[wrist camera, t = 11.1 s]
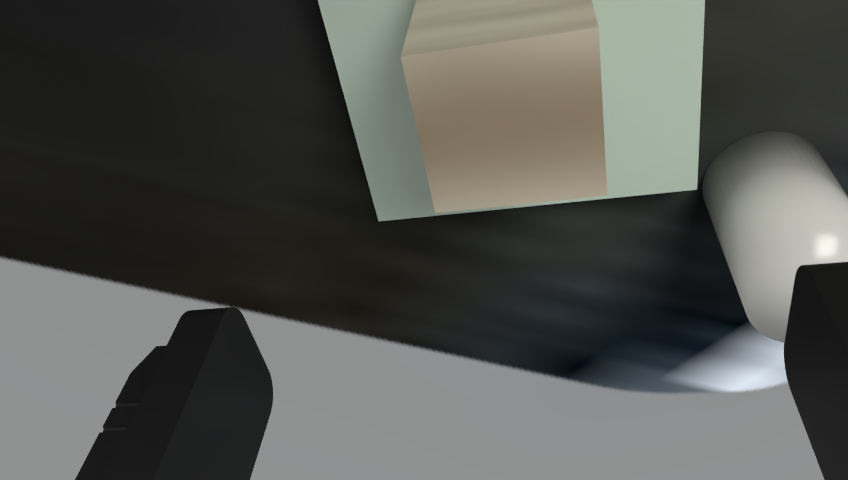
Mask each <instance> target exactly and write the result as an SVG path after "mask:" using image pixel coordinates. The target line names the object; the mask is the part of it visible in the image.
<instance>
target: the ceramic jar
mask: <svg viewBox="0 0 848 480" xmlns="http://www.w3.org/2000/svg"><path fill="white" fill-rule="evenodd" d="M702 194H703V199H704V202H705V204H706V207H707V210H708V212H709V215H710V218H711V220H712V223H713V226H714V229H715V231H716V234H717V237H718V239H719V242H720V245H721V247H722V250H723V253H724V255H725V258H726V261H727V264H728V266H729V269H730V272H731V274H732V277H733V280H734V282H735V285H736V288H737V290H738V293H739V296H740V299H741V301H742V304H743V307H744V309H745V312H746V315H747V317H748V319H749V321H750V322H751V324H752V325H753V326H754V327H755V328H756V329H757V330H758V331H759V332H760V333H762V334H764V335H765V336H767V337H769V338H772V339H774V340H777V341H781V342H785V336H786V330H787V324H788V317H789V311H790V305H791V299H792V293H793V286H794V280H795V275H796V272H797V269H798V268H799V267H800V266H801V265H812V264H825V263H838V262H848V197H847V195H846V194H845V192H844V190H843V189H842V187H841V186H840V184H839V183H838V181H837V180H836V178H835V177H834V175H833V173H832V172H831V170H830V169H829V167H828V166H827V164H826V163H825V161H824V160H823V158H822V156H821V155H820V153H819V152H818V150H817V149H816V148H815V146H813V145H812V144H811V143H810V142H809V141H808V140H806V139H805V138H803V137H800V136H798V135H795V134H792V133H787V132H779V131H772V132H762V133H757V134H753V135H750V136H747V137H745V138H742V139H740V140H738V141H736V142H734V143H733V144H731V145H730V146H728V147H727V148H725V149H724V150H723V151H722V152H721V153H720V154H719V155H717V156H716V158H715V159H714V160H713V161H712V163H711V164H710V166H709V167H708V169H707V171H706V173H705V176H704V179H703V184H702Z"/></svg>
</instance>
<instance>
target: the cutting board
mask: <svg viewBox="0 0 848 480" xmlns="http://www.w3.org/2000/svg"><path fill="white" fill-rule="evenodd" d="M318 3H319V6H320V10H321V14H322V17H323V21H324V25H325V28H326V32H327V36H328V39H329V43H330V47H331V50H332V54H333V57H334V61H335V65H336V68H337V72H338V76H339V79H340V83H341V87H342V90H343V94H344V97H345V101H346V105H347V108H348V112H349V116H350V119H351V123H352V127H353V130H354V134H355V137H356V141H357V145H358V148H359V152H360V156H361V159H362V163H363V167H364V170H365V174H366V177H367V181H368V185H369V188H370V192H371V196H372V199H373V203H374V207H375V210H376V214H377V217H378V221H388V220H398V219H408V218H418V217H428V216H438V215H448V214H458V213H468V212H478V211H488V210H498V209H508V208H518V207H528V206H538V205H548V204H558V203H568V202H578V201H588V200H598V199H608V198H618V197H628V196H638V195H648V194H658V193H668V192H678V191H688V190H697V180H698V156H699V131H700V107H701V82H702V58H703V34H704V9H705V0H592V3H593V7H594V11H595V15H596V19H597V23H598V27H599V44H600V63H601V83H602V102H603V121H604V141H605V160H606V179H607V195H606V196H597V197H587V198H577V199H568V200H558V201H549V202H539V203H529V204H520V205H510V206H501V207H491V208H482V209H472V210H462V211H453V212H443V213H435V210H434V205H433V201H432V196H431V192H430V187H429V183H428V178H427V174H426V169H425V165H424V160H423V156H422V151H421V147H420V142H419V138H418V133H417V129H416V124H415V120H414V115H413V111H412V106H411V102H410V97H409V93H408V88H407V84H406V79H405V75H404V70H403V66H402V61H401V57H400V56H401V53H402V49H403V46H404V42H405V38H406V35H407V31H408V28H409V24H410V21H411V17H412V13H413V10H414V6H415V3H416V0H318Z"/></svg>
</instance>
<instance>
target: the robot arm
mask: <svg viewBox="0 0 848 480" xmlns="http://www.w3.org/2000/svg"><path fill="white" fill-rule="evenodd" d="M784 361H785V369H786V375H787V379H788V383H789V386H790V390H791V392H792V395H793V398H794V400H795V403H796V405H797V408H798V411H799V413H800V416H801V419H802V421H803V424H804V426H805V429H806V432H807V434H808V437H809V440H810V442H811V445H812V448H813V450H814V453H815V456H816V458H817V461H818V464H819V466H820V469H821V471H822V474H823V476H824V479H825V480H848V262H838V263H825V264H812V265H801V266H800V267H799V268H798V269H797V272H796V275H795V280H794V286H793V293H792V299H791V305H790V311H789V317H788V324H787V330H786V336H785V343H784ZM272 402H273V387H272V380H271V376H270V373H269V370H268V368H267V366H266V364H265V361H264V359H263V357H262V355H261V353H260V351H259V348H258V346H257V344H256V342H255V340H254V338H253V336H252V333H251V332H250V329H249V327H248V325H247V323H246V321H245V318H244V316H243V315H242V313H241V312H240V310H238V309H237V308H235V307H230V308H217V309H204V310H192V311H187V312H186V313H184V314H183V315H182V316H181V318H180V320H179V322H178V324H177V326H176V328H175V330H174V332H173V334H172V336H171V338H170V340H169V342H168V344H167V346H156V348H154V349H153V351H152V352H151V353H150V354H149V355H148V356H147V357H146V358H145V359H144V360H143V361H142V362H141V363H140V364H139V365H138V366H137V367H136V368H135V369H134V370H133V371H132V372H131V374H130V375H129V377H128V380H127V381H126V383H125V385H124V387H123V389H122V391H121V393H120V395H119V397H118V398H117V400H116V408H113V409H112V410H111V412H110V414H109V416H108V418H107V420H106V421H105V423H104V425H103V428H104V430H103V432H102V433H99V435H98V437H97V439H96V441H95V443H94V444H93V446H92V449H91V450H90V452H89V454H88V456H87V458H86V460H85V462H84V464H83V466H82V468H81V469H80V472H79V473H78V475H77V477H76V479H75V480H250V477H251V474H252V471H253V468H254V465H255V461H256V458H257V455H258V452H259V448H260V445H261V442H262V439H263V436H264V432H265V429H266V426H267V423H268V419H269V416H270V413H271V408H272Z"/></svg>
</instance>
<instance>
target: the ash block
mask: <svg viewBox="0 0 848 480" xmlns="http://www.w3.org/2000/svg"><path fill="white" fill-rule="evenodd" d="M400 57H401V61H402V66H403V70H404V75H405V79H406V84H407V88H408V93H409V97H410V102H411V106H412V111H413V115H414V120H415V124H416V129H417V133H418V138H419V142H420V147H421V151H422V156H423V160H424V165H425V169H426V174H427V178H428V183H429V187H430V192H431V196H432V201H433V205H434V210H435V213H443V212H453V211H462V210H472V209H482V208H491V207H501V206H510V205H520V204H529V203H539V202H549V201H558V200H568V199H577V198H587V197H597V196H606V195H607V179H606V160H605V141H604V121H603V102H602V83H601V63H600V44H599V27H598V23H597V19H596V15H595V11H594V7H593V3H592V0H416V3H415V6H414V10H413V13H412V17H411V21H410V24H409V28H408V31H407V35H406V38H405V42H404V46H403V49H402V53H401V56H400Z"/></svg>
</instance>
